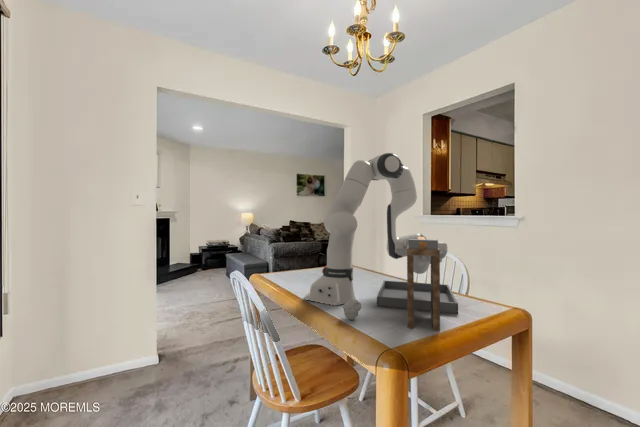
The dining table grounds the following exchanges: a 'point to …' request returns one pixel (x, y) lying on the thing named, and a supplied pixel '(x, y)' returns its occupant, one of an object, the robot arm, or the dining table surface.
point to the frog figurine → (351, 309)
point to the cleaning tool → (423, 244)
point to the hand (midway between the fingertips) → (420, 240)
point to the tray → (415, 297)
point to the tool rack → (434, 285)
